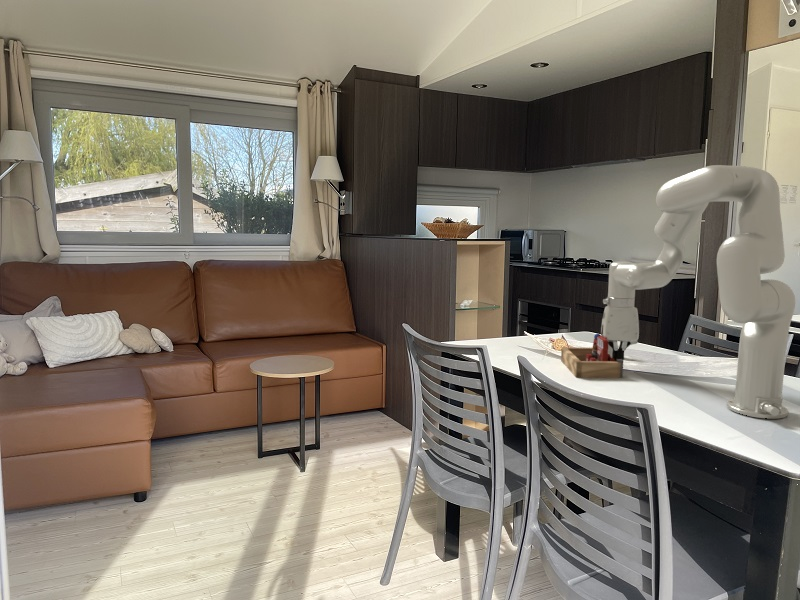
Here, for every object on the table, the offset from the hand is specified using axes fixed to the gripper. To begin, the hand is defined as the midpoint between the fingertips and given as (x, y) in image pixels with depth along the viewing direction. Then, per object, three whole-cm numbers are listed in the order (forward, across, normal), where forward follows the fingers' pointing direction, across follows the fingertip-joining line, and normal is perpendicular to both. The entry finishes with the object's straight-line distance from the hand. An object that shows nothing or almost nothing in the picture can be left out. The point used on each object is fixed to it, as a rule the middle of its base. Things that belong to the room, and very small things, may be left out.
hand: (617, 362), depth 177 cm
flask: (+2, +2, +17) cm, 17 cm away
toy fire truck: (+2, -5, 0) cm, 6 cm away
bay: (+2, -8, 0) cm, 8 cm away
